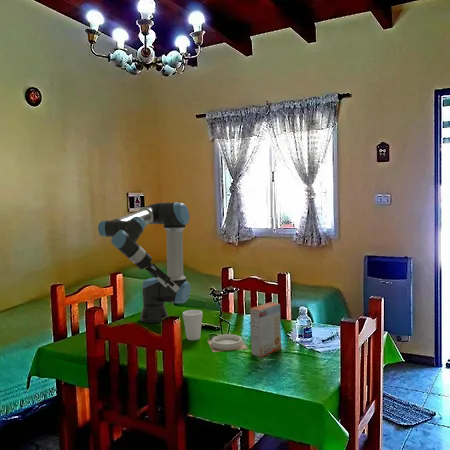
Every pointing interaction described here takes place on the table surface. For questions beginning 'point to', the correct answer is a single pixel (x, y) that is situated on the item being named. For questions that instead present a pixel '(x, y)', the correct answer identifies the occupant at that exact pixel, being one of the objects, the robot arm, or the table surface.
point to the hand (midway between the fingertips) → (172, 287)
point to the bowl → (227, 342)
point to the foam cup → (192, 324)
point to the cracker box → (265, 329)
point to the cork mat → (226, 350)
